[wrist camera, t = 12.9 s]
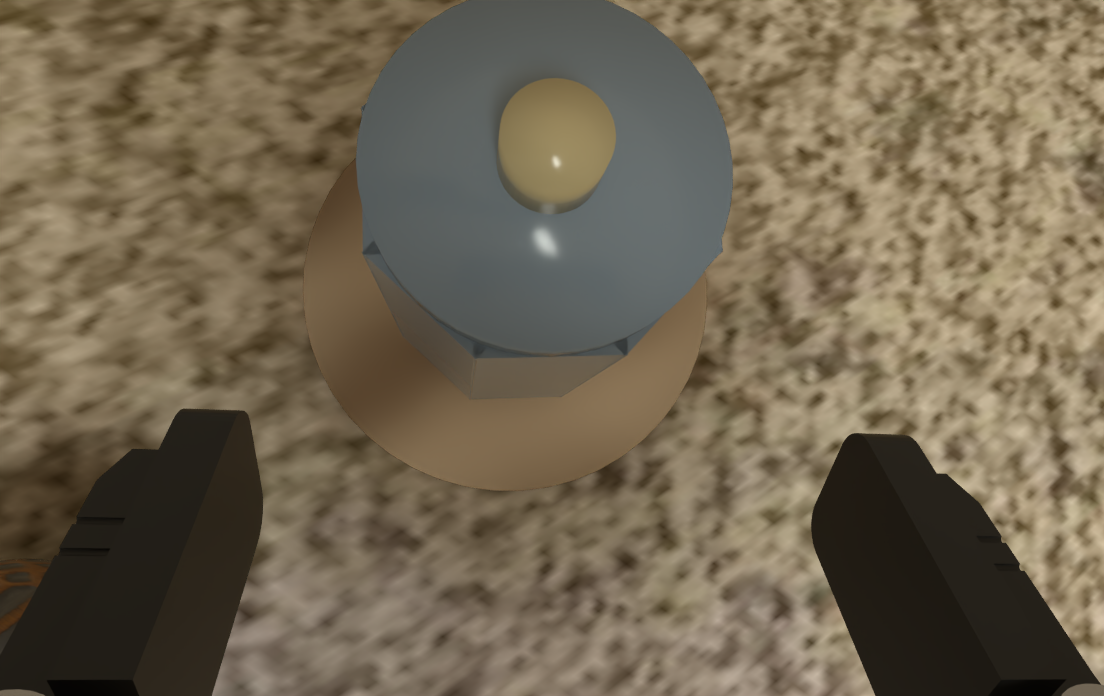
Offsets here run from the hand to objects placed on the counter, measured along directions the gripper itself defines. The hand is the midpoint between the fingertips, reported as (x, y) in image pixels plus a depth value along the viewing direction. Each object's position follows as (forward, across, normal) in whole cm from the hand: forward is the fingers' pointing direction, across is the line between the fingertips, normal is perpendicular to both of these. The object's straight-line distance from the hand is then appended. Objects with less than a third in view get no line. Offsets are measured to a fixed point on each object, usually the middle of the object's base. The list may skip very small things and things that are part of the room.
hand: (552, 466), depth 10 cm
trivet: (+13, 0, +5) cm, 14 cm away
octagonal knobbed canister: (+12, 0, +5) cm, 13 cm away
